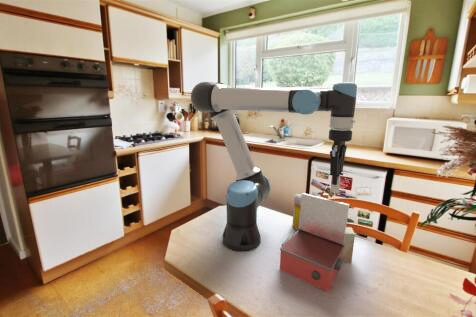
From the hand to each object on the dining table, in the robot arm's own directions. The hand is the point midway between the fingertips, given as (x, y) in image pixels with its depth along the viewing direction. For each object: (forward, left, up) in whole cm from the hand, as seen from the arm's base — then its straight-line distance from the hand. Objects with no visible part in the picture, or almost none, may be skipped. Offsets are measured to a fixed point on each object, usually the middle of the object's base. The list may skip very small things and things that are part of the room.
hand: (334, 191), depth 92 cm
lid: (0, -12, -6) cm, 13 cm away
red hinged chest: (0, -19, -21) cm, 29 cm away
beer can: (-14, +4, -22) cm, 26 cm away
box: (+7, -7, -22) cm, 24 cm away
